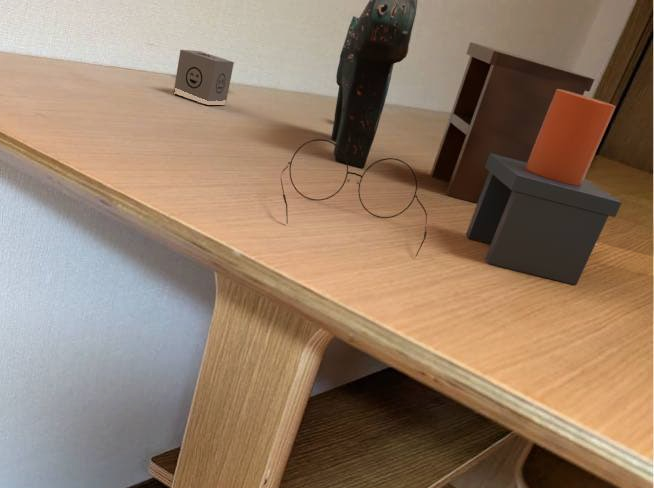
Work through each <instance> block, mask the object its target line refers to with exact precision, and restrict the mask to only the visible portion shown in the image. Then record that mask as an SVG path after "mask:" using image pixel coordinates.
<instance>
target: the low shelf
mask: <svg viewBox="0 0 654 488" xmlns="http://www.w3.org/2000/svg"><path fill="white" fill-rule="evenodd" d="M526 165H527V163H526V162H522V161H518V160H515V159H511V158H507V157H503V156H499V155H496V154H492V153H490V155H489V157H488V160H487V163H486V165H485V168H486V169H488V170H489V174H488V176H487V179H486V182H485V184H484V187H483V190H482V192H481V195H480V198H479V200H478V203H476V206H475V209H474V211H473V213H472V216H471V220H470V222H469V225H468V227H467V230H466V232H465V236H466V238H467V239H469V240H473V241H477V242H481V243H483V244H484V243H485V244H488V245H489V248H488V251H487V253H486V255H485V258H484V260H485V262H486V263H487V264H488V265H491V266H496V267H500V268H504V269H507V270H512V271H516V272H520V273H525V274H528V275H533V276H535V277H541V278H545V279H549V280H553V281H557V282H561V283H565V284H569V285H572V286H577V285H578V283H579V281H580V278H581V276H582V274H583V272H584V269H585V268H586V265H587V263H588V261H589V259H590V258H591V254H592V252H593V251H594V249H595V246H596V244H597V242H598V240H599V239H600V235H601V233H602V231H603V229H604V227H605V225H606V222H607V220H608V218H609V217H612V218H616V216H617V214H618V212H619V210H620V208H621V206H622V203H623V202H622V201H621V200H619V199H618V198H616V197H615V196H613V195H611V194H610V193H608V191H607V192H606V191H605V190H603V188H600V187H599V186H597V185H596V184H594V183H593V182H592V181H590V180H588V179H587V178H586V177H585V178H584V180H583V182H582V185H581V186H575V185H569V184H565V183H561V182H558V181H554V180H551V179H548V178H545V177H542V176H539V175H537V174H534V173H532V172H530V171H528V170H527V169H526V168H525V167H526Z"/></svg>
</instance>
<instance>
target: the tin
mask: <svg viewBox="0 0 654 488" xmlns="http://www.w3.org/2000/svg"><path fill="white" fill-rule="evenodd" d="M616 107H617V106H616V105H614V104H611V103H608V102H605V101H603V100H600V99H596V98H593V97H590V96H587V95H584V94H583V95H580V94H576V93H572V92H569V91H565V90H561V89H557V90H556V92H555V94H554V97H553V100H552V102H551V105H550V107H549V110H548V112H547V115H546V117H545V120H544V122H543V125H542V127H541V130H540V132H539V135H538V137H537V140H536V142H535V145H534V147H533V150H532V152H531V155H530V157H529V160H528V162H527V165H526V167H525V168H526V169H527V170H528V171H530V172H532V173H534V174H537V175H539V176H542V177H545V178H548V179H551V180H554V181H558V182H561V183H565V184H569V185H575V186H581V185H582V182H583V180H584V178H585V179H586V175H587V173H588V171H589V168H590V167H591V164H592V161H593V160H594V158H595V155H596V153H597V150H598V148H599V146H600V144H601V142H602V139H603V137H604V135H605V133H606V130H607V128H608V125H609V123H610V121H611V119H612V116H613V115H614V112H615V109H616Z"/></svg>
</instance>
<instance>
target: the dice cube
mask: <svg viewBox="0 0 654 488" xmlns="http://www.w3.org/2000/svg"><path fill="white" fill-rule="evenodd" d="M234 64H235V61H232V60H228V59H225V58H222V57H219V56H216V55H213V54H210V53H207V52H204V51H201V50H191V49H180V51H179V56H178V62H177V69H176V75H175V82H174V88H177V89H180V90H182V91H184V92H187V93H189V94H192V95H194V96H197V97H199V98H202V99H205V100H207V101H216V100H217V101H223V100H226V102H227V101H228V100H227V99H228V95H229V90H230V84H231V79H232V74H233V69H234ZM174 88H173V89H174Z"/></svg>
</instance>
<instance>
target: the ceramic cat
mask: <svg viewBox="0 0 654 488" xmlns="http://www.w3.org/2000/svg"><path fill="white" fill-rule="evenodd" d="M417 7H418V0H368V3H366V6H365V8H364V9H363V11H362V12H361V14H360V15H359V16H358V17H357V16H355V15H353V16H352V19H351V20H350V24H349V26H348V28H347V32H346V33H347V34H346V36H345V39H344V42H343V46H342V49H341V52H340V55H339V62H338V66H337V70H336V77H335V78H336V79H335V80H336V85H337V86H338V91H337V97H336V104H335V110H334V117H333V118H334V120H333V126H332V130H331V131H332V132H331V136H330V138H332V139H333V140H332V139H331V140H332V141H334V140H335V141H334V144H336V145H337V146H338V147H339V148H340V149H341V150H342V151H343V153H344V154H345V157H346V159H347V163H348V166H352V167H356V168H360V169H364V168H365V166H366V164H367V161H368V157H369V155H370V151H371V148H372V145H373V143H374V140H375V138H376V134H377V131H378V127H379V124H380V120H381V116H382V113H383V111H384V106H385V103H386V100H387V97H388V92H389V87H390V83H391V80H392V75H393V69H394V65H395V64H397V63H400V62H402V61H403V60H404V59H405V58H406V57H407V55H408V53H409V49H410V42H411V37H412V32H413V27H414V23H415V19H416V14H417V9H418V8H417ZM338 147H336V146H335V145H334V149H333V157H334V161H335V162H338V163H341V164H344V165H347V164H346V160H345V157H344V155H343V153H342V152H341V151H340V149H339V148H338Z"/></svg>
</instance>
